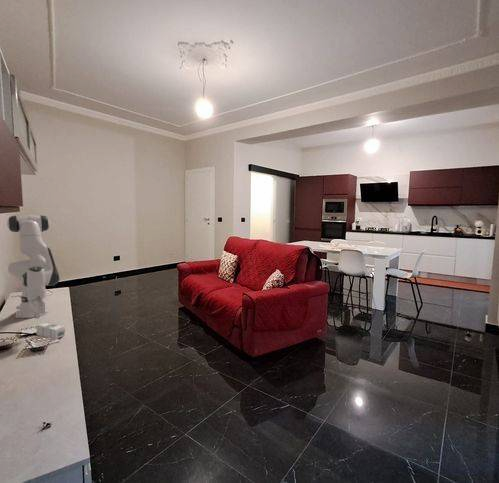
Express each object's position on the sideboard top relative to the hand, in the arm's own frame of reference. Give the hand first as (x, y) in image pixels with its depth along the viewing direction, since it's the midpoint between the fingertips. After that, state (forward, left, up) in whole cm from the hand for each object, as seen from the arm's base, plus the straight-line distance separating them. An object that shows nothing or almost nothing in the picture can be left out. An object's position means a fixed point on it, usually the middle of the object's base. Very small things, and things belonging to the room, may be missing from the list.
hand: (37, 318), depth 171 cm
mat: (+10, 0, -10) cm, 15 cm away
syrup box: (0, +2, -6) cm, 7 cm away
